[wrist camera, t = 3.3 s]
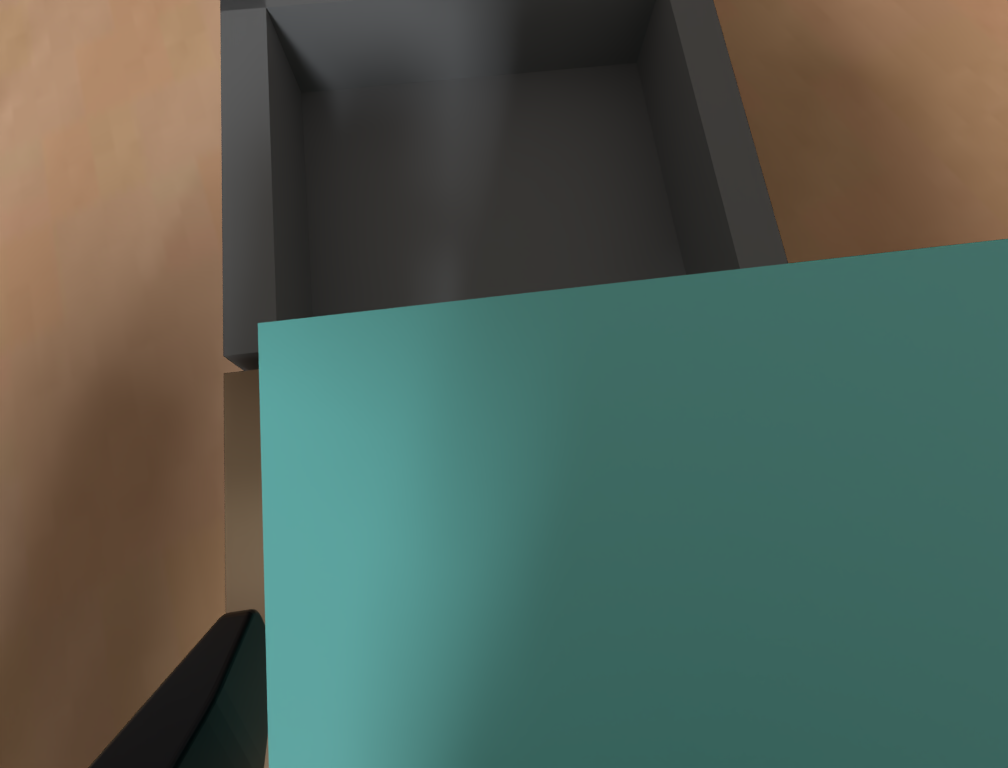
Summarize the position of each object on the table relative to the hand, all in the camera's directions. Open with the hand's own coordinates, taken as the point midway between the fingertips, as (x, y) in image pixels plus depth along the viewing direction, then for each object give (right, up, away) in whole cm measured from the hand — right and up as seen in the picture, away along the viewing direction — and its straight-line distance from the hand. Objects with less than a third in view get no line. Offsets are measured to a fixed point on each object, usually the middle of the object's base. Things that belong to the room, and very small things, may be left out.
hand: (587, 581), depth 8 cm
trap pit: (-2, +9, +10) cm, 13 cm away
